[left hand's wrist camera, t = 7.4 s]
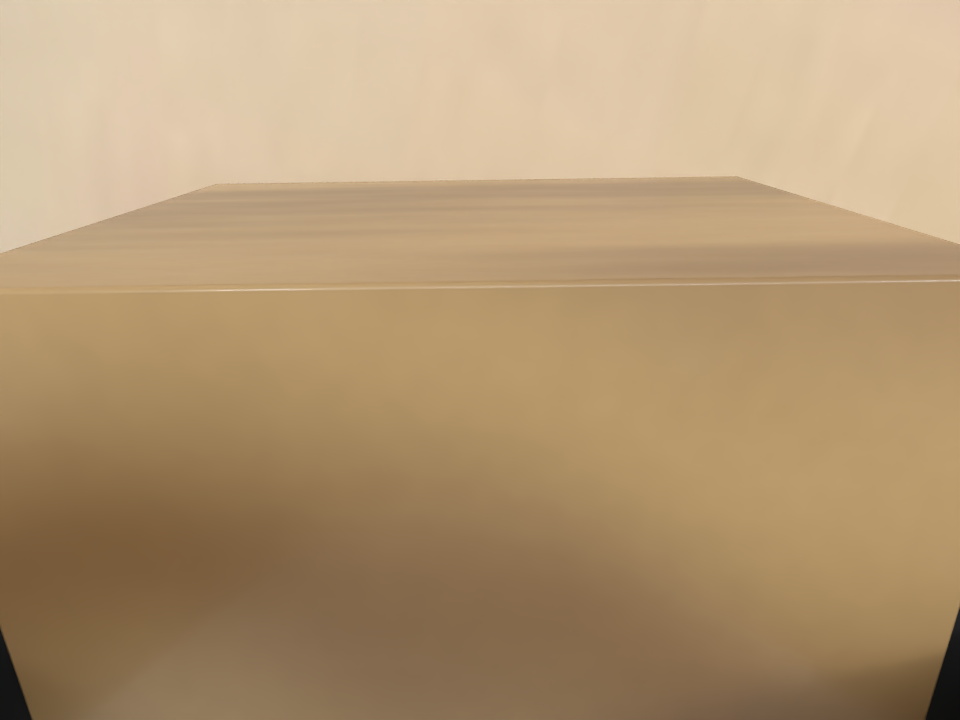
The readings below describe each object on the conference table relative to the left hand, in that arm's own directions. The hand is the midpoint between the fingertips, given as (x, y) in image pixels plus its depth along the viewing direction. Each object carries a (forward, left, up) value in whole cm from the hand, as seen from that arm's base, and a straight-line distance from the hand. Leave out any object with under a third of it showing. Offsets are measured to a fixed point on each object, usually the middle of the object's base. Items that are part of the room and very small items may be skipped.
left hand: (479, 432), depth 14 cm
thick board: (+24, -17, -1) cm, 30 cm away
